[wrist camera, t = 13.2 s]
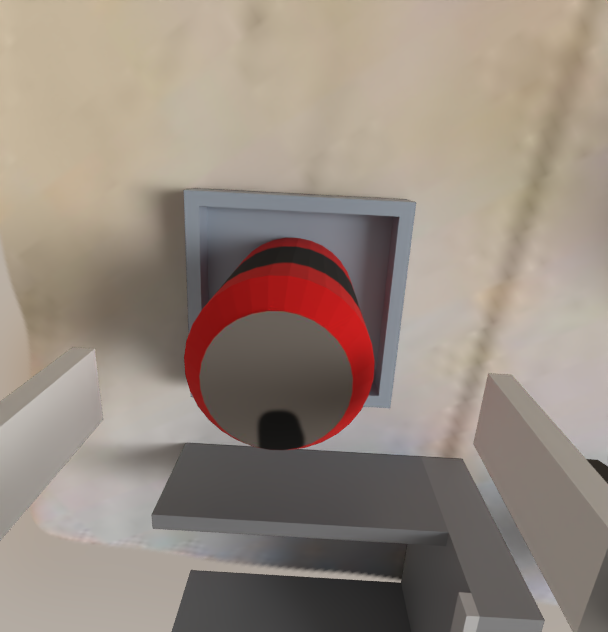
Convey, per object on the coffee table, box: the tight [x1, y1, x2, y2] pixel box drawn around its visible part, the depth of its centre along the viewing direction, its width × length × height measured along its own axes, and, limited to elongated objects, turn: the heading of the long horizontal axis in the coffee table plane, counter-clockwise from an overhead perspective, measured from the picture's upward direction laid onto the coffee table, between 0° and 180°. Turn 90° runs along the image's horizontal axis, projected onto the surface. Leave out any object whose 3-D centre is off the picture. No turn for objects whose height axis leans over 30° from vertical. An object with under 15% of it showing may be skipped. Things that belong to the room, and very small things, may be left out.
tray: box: [184, 188, 416, 408], centre depth 27 cm, size 13×13×2 cm
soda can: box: [184, 238, 375, 450], centre depth 22 cm, size 8×8×12 cm
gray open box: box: [152, 443, 545, 632], centre depth 28 cm, size 13×20×12 cm, turn 87°
